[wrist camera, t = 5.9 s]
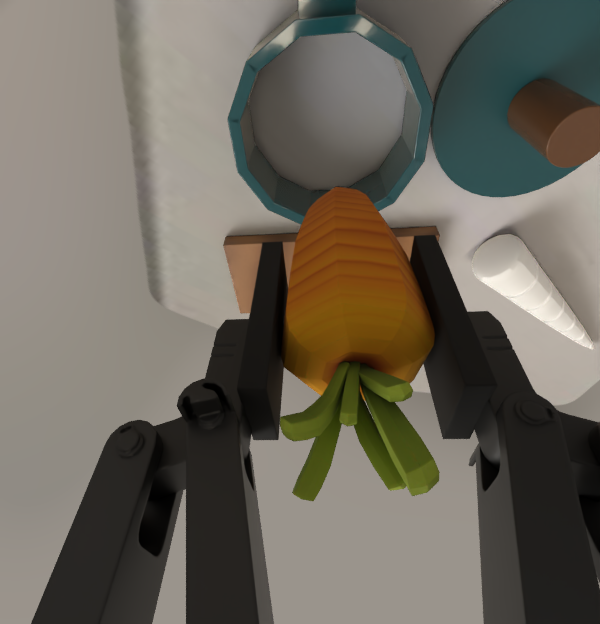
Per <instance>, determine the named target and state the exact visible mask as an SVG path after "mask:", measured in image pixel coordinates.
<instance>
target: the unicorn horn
mask: <svg viewBox="0 0 600 624" xmlns="http://www.w3.org/2000/svg"><path fill="white" fill-rule="evenodd" d="M472 271H473V273H474V274H475V276H476V277H477V278H478V279H479V280H480V281H482V282H483V283H485V284H486V285H488V286H489V287H491V288H493V289H494V290H496V291H497V292H499V293H500V294H502V295H503V296H505V297H506V298H508V299H509V300H511V301H512V302H514V303H515V304H517V305H518V306H520V307H521V308H523V309H524V310H526V311H527V312H529V313H530V314H532V315H533V316H535V317H536V318H538V319H539V320H541V321H542V322H544V323H546V324H547V325H549V326H550V327H552V328H553V329H555V330H557V331H558V332H560V333H561V334H563V335H565V336H566V337H568V338H570V339H571V340H573V341H575V342H577V343H578V344H580V345H582V346H584V347H589V349H592V350H594V349H595V346H594V344H593V342H592V340H591V338H590V337H589V335H588V334H587V332H586V330H585V329H584V327H583V326H582V324H581V323H580V321H579V320H578V318H577V317H576V316H575V314H574V313H573V311H572V310H571V308H570V307H569V306H568V304H567V303H566V301H565V300H564V299H563V297H562V296H561V294H560V293H559V292H558V290H557V289H556V287H555V286H554V285H553V283H552V282H551V280H550V279H549V278H548V276H547V275H546V274H545V272H544V271H543V269H542V268H541V267H540V265H539V264H538V262H537V261H536V260H535V258H534V257H533V255H532V254H531V252H530V251H529V250H528V248H527V247H526V246H525V244H524V243H523V241H522V240H521V239H520V238H519V237H517V236H514V235H512V234H506V235H498V236H496V237H493V238H491V239H489V240H487V241H486V242H485V243H483V244H482V245H481V246H480V247H479V248H478V249H477V250H476V252H475V254H474V256H473V259H472Z"/></svg>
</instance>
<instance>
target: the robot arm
mask: <svg viewBox="0 0 600 624" xmlns="http://www.w3.org/2000/svg"><path fill="white" fill-rule="evenodd" d="M410 264H411V266H412V269H413V271H414V273H415V276H416V278H417V281H418V283H419V286H420V289H421V291H422V294H423V297H424V300H425V303H426V305H427V308H428V311H429V314H430V317H431V320H432V323H433V327H434V332H435V339H434V346H433V347H432V349H431V351H430V352H429V354H428V356H427V358H426V359H425V361H424V363H423V364H424V367H425V371H426V375H427V379H428V383H429V387H430V391H431V394H432V398H433V402H434V406H435V410H436V414H437V417H438V421H439V425H440V429H441V433H442V437H443V439H470V437H471V435H472V433H473V431H474V429H475V432H476V435H477V438H478V441H479V444H478V445H477V447H476V449H475V451H474V453H473V454H472V456H471V458H470V462H469V466H473V465H474V464H475V462H476V473H477V496H478V516H479V536H480V556H481V577H482V595H483V596H482V597H483V617H484V624H600V588H599V584H598V580H599V582H600V422H595V421H591V420H587V419H583V418H579V417H575V416H572V415H568V414H565V413H562V412H559V411H558V410H556V409H555V408H554V406H553V405H552V404H551V403H550V402H549V401H547V400H546V399H544V398H543V397H541V396H539V395H537V394H536V392H535V391H534V389H533V388H532V386H531V384H530V382H529V379H528V377H527V375H526V373H525V371H524V369H523V367H522V365H521V363H520V361H519V359H518V357H517V355H516V353H515V351H514V350H513V349H512V345H511V343H510V341H509V339H507V335H506V333H505V331H504V329H503V327H502V325H501V323H500V322H499V321H498V320H497V319H496V318H495V317H494V316H493V315H492V314H491V313H489V312H488V311H480V312H467V310H466V308H465V305H464V303H463V301H462V298H461V296H460V293H459V291H458V289H457V286H456V284H455V281H454V279H453V277H452V274H451V272H450V269H449V267H448V265H447V262H446V260H445V257H444V255H443V253H442V250H441V248H440V245H439V243H438V241H437V238H436V236H435V235H418V236H414V239H413V245H412V251H411V257H410ZM287 294H288V283H287V275H286V267H285V259H284V250H283V242H282V241H280V242H263V243H262V248H261V254H260V260H259V265H258V271H257V277H256V282H255V288H254V294H253V299H252V305H251V311H250V317H249V319H236V320H225V322H224V323H223V324H222V326H221V327H220V328H219V329H218V331H217V333H216V338H215V342H214V347H213V349H212V353H211V358H210V361H209V365H208V369H207V373H206V377H205V379H201V380H198V381H196V382H193V383H192V384H190V385H189V386H188V387H186V388H185V389H184V391H183V392H182V393H181V395H180V396H179V399H178V403H177V407H178V409H179V411H180V413H181V414H182V417H180V418H178V419H175V420H172V421H169V422H166V423H163V424H160V425H156V426H152V425H151V424H150V423H149V422H147V421H142V420H136V421H131V422H128V423H126V424H124V425H122V426H120V427H119V428H118V429H117V430H115V431H114V432H113V433H112V434H111V435H110V437H109V439H108V440H107V442H106V444H105V446H104V449H103V451H102V454H101V456H100V458H99V461H98V463H97V466H96V468H95V471H94V473H93V475H92V478H91V480H90V482H89V485H88V487H87V490H86V492H85V494H84V497H83V500H82V502H81V504H80V507H79V509H78V511H77V514H76V516H75V519H74V521H73V524H72V526H71V529H70V531H69V533H68V536H67V538H66V540H65V543H64V545H63V548H62V550H61V553H60V555H59V557H58V560H57V562H56V565H55V567H54V570H53V572H52V574H51V577H50V579H49V582H48V584H47V587H46V589H45V591H44V594H43V596H42V599H41V601H40V603H39V606H38V608H37V611H36V613H35V616H34V618H33V620H32V623H31V624H152V622H153V617H154V613H155V609H156V605H157V600H158V596H159V592H160V588H161V583H162V579H163V575H164V571H165V566H166V562H167V558H168V554H169V549H170V545H171V541H172V537H173V532H174V528H175V524H176V519H177V515H178V511H179V507H180V502H181V498H182V494H183V490H185V489H186V624H274V621H273V614H272V606H271V599H270V591H269V584H268V577H267V568H266V562H265V554H264V547H263V539H262V530H261V523H260V515H259V509H258V500H257V493H256V486H255V478H254V470H253V463H252V455H251V452H250V449H249V446H250V439H251V434H252V436H253V440H278V437H279V424H280V410H281V395H282V383H283V369H284V365H283V362H282V359H281V344H282V336H283V327H284V318H285V310H286V302H287ZM597 578H598V579H597Z"/></svg>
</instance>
